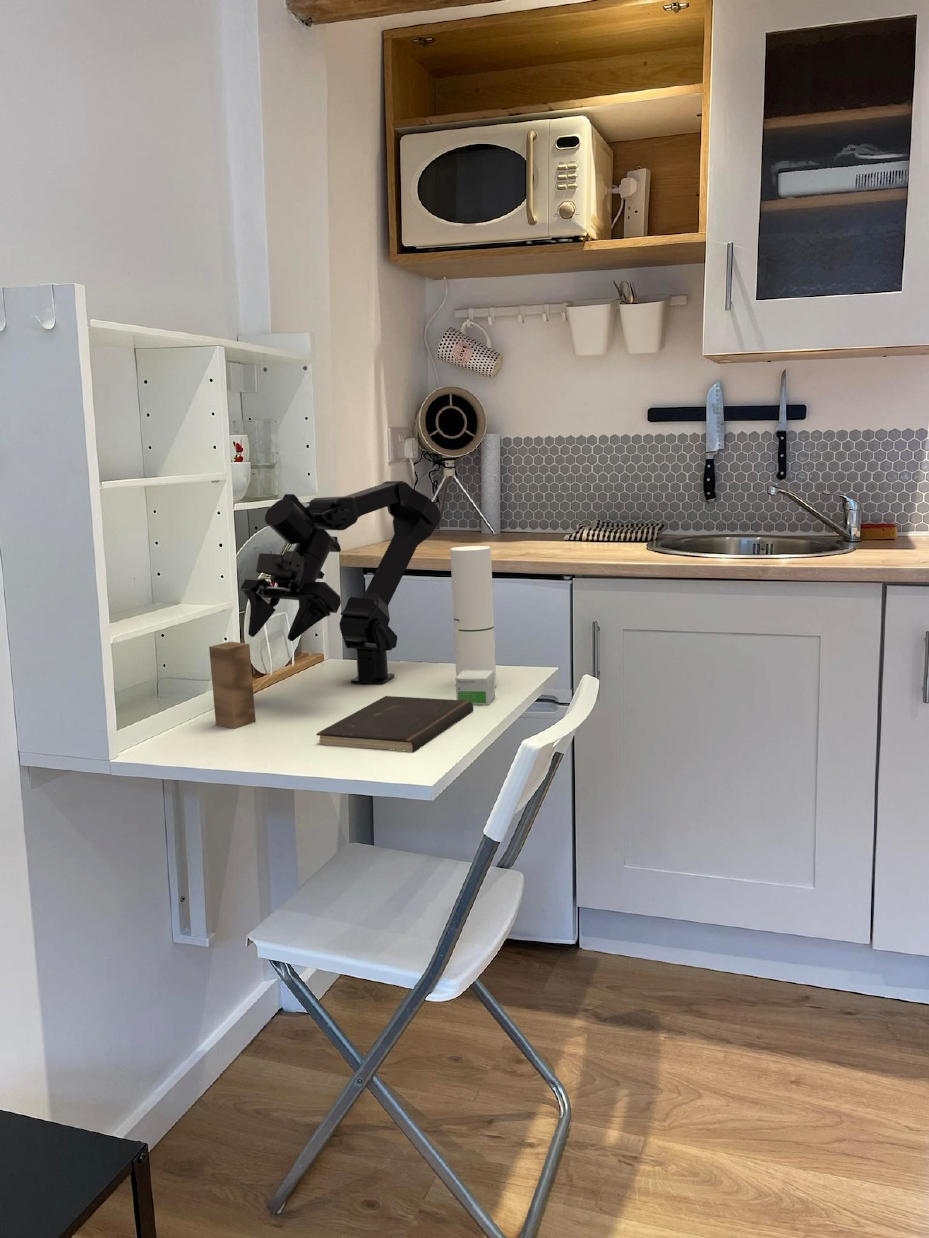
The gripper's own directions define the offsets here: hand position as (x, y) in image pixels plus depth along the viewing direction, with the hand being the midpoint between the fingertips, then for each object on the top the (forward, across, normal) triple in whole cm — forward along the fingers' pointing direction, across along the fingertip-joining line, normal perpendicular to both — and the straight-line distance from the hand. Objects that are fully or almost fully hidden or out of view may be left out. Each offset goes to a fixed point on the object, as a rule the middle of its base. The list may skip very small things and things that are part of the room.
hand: (269, 637), depth 171 cm
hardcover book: (+9, +25, +11) cm, 28 cm away
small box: (-4, +27, +24) cm, 36 cm away
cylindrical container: (-9, +21, +31) cm, 38 cm away
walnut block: (+15, -1, +2) cm, 15 cm away
